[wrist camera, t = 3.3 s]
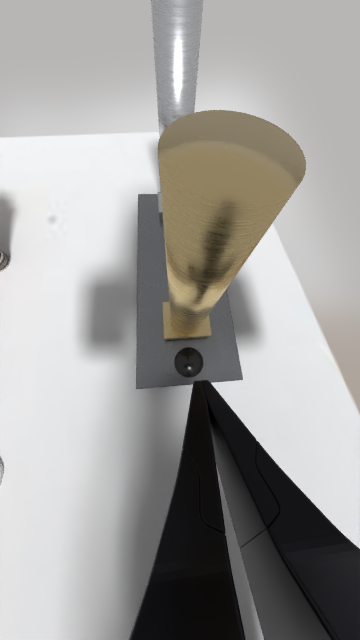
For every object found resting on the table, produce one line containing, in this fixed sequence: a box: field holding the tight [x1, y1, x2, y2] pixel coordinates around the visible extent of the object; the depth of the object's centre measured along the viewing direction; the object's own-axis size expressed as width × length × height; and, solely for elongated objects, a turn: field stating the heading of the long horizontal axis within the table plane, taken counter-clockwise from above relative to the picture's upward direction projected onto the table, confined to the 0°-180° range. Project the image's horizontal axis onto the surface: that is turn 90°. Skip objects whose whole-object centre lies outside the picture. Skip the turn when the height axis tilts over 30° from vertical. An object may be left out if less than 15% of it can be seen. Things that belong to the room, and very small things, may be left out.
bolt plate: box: [136, 0, 243, 389], centre depth 11 cm, size 25×10×14 cm, turn 4°
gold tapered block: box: [158, 110, 306, 340], centre depth 9 cm, size 4×4×12 cm
